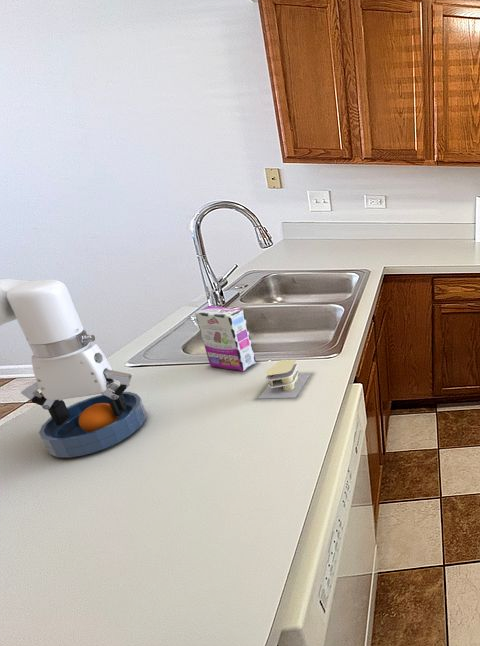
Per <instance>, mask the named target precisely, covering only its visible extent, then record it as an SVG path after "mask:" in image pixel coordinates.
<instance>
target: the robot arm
mask: <svg viewBox="0 0 480 646" xmlns="http://www.w3.org/2000/svg"><path fill="white" fill-rule="evenodd" d="M16 320H17V322H18V324H19V327H20V329H21V331H22V334H23V335H24V337H25V339H26V342H27V344H28V345H29V347H30V350H31V351H32V354H33V355H31V366H32V370H33V375H34V378H35V382H34V383H31V384H29V385H28V386H26V387H25V388H24V389H23V390H21V392H20V394H21V395H23V396H24V397H25V398H27V399H28V400H30V401H31V403H32V404H35V405H39V406H40V407H41V409H43V410H46V411H48V413H49V415H50V417H52V419H53V420H54V421H55V423H56V425H61V424H63V423H64V422H65V421H66V420H67V419H68V418H69V417H70V413H69V411H68V409H67V407H68V406H66V405H67V404H66V403H65V401H64V400H68V399H69V400H70V399H76V398H82V397H89V396H90V397H91V396H97V395H105V396H107V397H109V398H111V399H110V401H109V403H110V406H111V408H112V411H113V413H114V415H115V416H120V415H121V413H122V412H123V411H124V410H125V408H126V406H127V404H126V401H125V399H124V396H123V394H122V393H123V392H126V390H127V389H128V387H129V386H130V383H131V380H132V377H133V375H132V374H131V373H126V372H123V371H117V370H113V368H112V366H111V363H110V362H109V360H108V358H107V357H106V355H105V353H104V352H103V351H102V349H101V348H100V347H99V346H98V345H97V343H96V342H95V341H96V337H95V335H94V334H88V333H87V331H86V330H85V328H84V326H83V324H82V320H81V319H80V315H79V314H78V311H77V309H76V306H75V304H74V302H73V299H72V296H71V294H70V292H69V289H68V287H67V286H66V285H65V283H64V282H62V281H60V280H57V279H38V280H32V281H31V280H23V279H17V278H16V279H15V278H0V327H1V326H2V325H5V324H7V323H9V322H13V321H16ZM116 381H118V382H119V385H118V384H117V383H115V382H116ZM38 390H39V391H40V392H39V391H38Z"/></svg>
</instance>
